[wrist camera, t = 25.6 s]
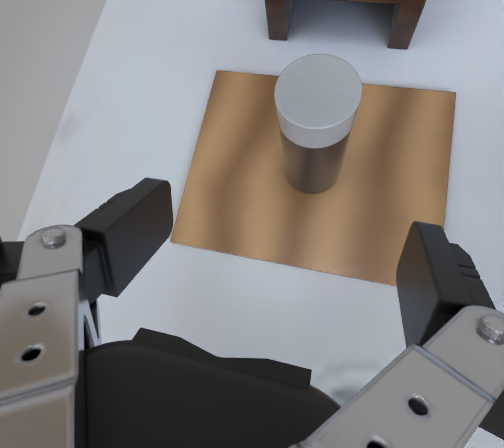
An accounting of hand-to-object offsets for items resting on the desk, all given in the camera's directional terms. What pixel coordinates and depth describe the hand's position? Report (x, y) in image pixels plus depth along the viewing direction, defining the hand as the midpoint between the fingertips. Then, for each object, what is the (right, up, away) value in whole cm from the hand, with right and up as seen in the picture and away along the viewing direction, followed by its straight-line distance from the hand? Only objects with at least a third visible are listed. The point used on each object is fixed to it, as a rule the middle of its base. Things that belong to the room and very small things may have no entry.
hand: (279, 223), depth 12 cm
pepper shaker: (+4, +4, +16) cm, 17 cm away
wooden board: (+4, +4, +16) cm, 18 cm away
